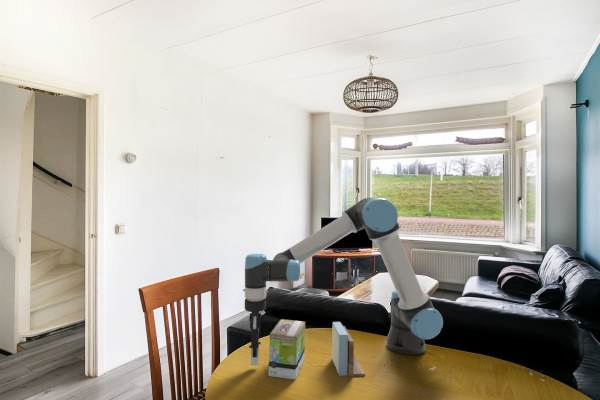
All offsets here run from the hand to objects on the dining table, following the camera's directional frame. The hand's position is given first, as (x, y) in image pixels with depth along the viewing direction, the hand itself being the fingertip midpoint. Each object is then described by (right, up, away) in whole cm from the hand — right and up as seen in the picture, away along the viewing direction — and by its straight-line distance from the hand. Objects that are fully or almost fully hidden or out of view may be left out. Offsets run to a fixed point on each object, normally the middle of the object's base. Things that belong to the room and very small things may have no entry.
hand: (254, 364), depth 121 cm
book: (+30, -2, +2) cm, 30 cm away
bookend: (+35, -2, +2) cm, 35 cm away
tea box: (+12, -2, +1) cm, 12 cm away
